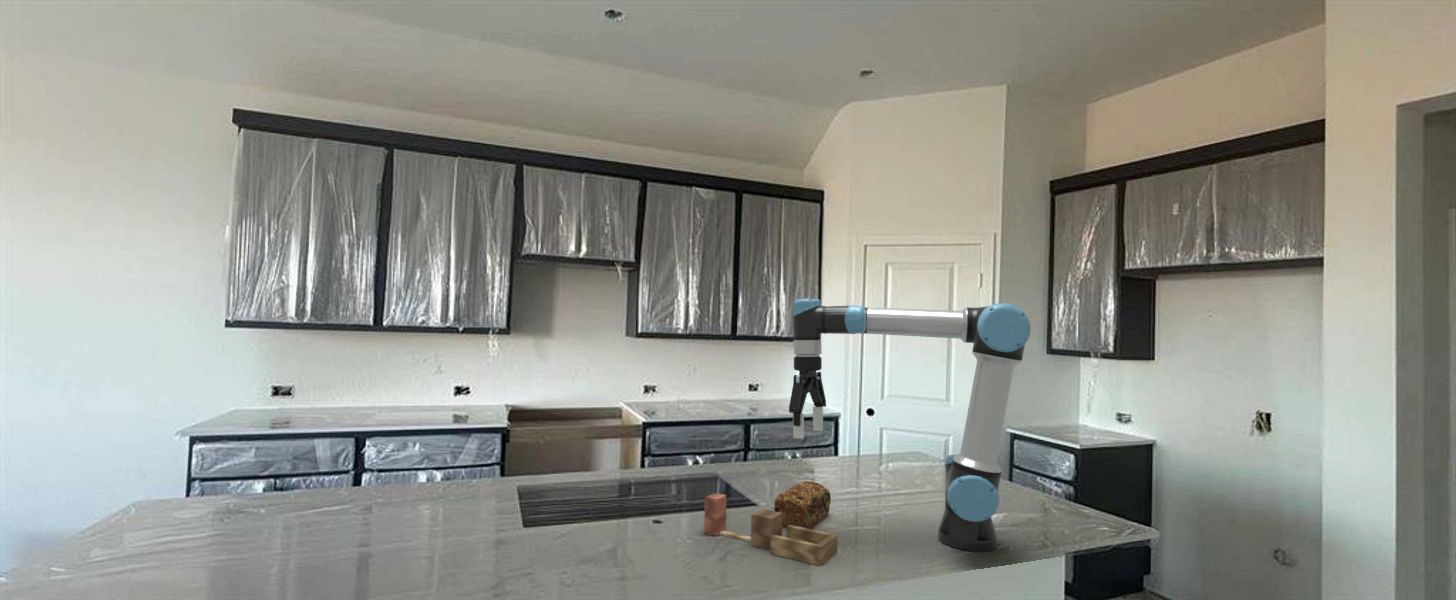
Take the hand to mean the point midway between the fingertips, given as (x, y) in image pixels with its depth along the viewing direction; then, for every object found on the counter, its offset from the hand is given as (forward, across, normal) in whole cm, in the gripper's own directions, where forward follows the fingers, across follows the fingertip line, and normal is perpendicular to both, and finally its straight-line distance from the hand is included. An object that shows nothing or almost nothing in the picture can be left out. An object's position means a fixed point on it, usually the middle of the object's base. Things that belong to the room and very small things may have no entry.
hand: (808, 434), depth 172 cm
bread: (+28, -14, -8) cm, 33 cm away
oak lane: (+28, +10, +2) cm, 30 cm away
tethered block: (+28, +10, -16) cm, 33 cm away
